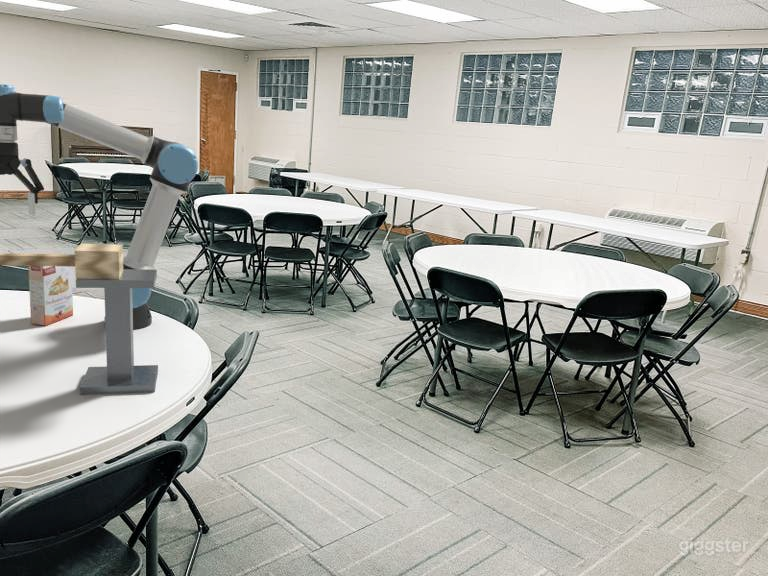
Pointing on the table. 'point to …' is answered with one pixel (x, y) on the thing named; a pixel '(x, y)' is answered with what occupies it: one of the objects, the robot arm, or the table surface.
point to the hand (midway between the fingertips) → (7, 216)
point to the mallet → (76, 260)
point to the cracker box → (50, 293)
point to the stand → (120, 337)
